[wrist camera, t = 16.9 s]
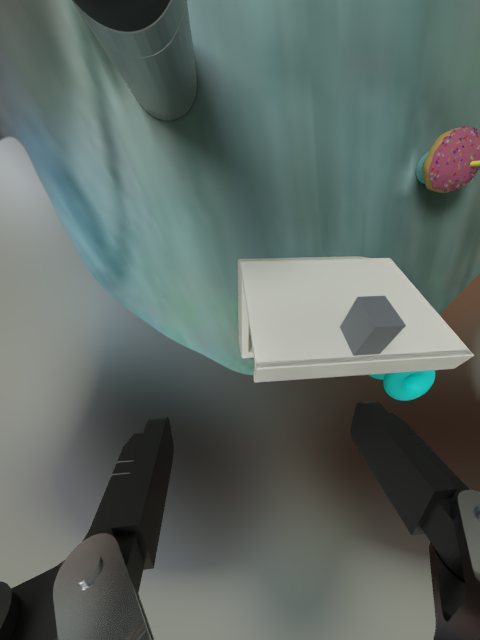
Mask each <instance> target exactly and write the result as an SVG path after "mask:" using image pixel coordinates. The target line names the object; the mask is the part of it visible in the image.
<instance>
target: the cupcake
mask: <svg viewBox="0 0 480 640" xmlns="http://www.w3.org/2000/svg"><path fill="white" fill-rule="evenodd" d="M479 169H480V133H479V132H478V131H477V129H475V128H474V129H473V128H471V127H465V126H464V127H462V128H456V129H452V130H450V131H448V132H446V133H444V134H442V135H441V136H440V137H438V139H437V140H436V141H435V142H434V144H433V146H432V147H431V149H430V151H429V152H427V153H426V154H425V155H424V156H423V157H422V158H421V159H420V161H419V162H418V165H417V168H416V176H417V179H418V180H419V181H420V182H421V183H424V184H426V187H427V189H429V190H432V191H435V192H439V193H446V192H452V191H455V190H457V189H459V188H461V187H464V186H465V185H466V184H467V183H468V182H470V180H471V179H472V178H473V179H474V175H476V174H477V171H478V170H479Z"/></svg>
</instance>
